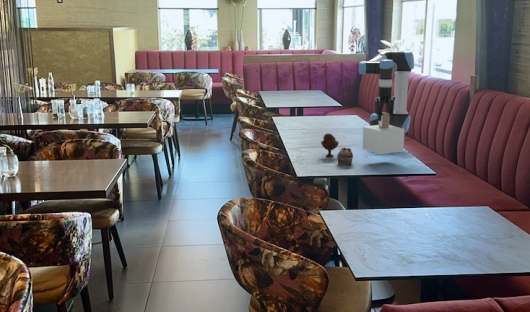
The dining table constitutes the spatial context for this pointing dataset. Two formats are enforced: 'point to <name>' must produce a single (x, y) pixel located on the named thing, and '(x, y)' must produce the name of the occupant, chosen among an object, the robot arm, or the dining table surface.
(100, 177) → the dining table surface
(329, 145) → the ice cream bowl
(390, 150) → the white box with knob
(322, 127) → the dining table surface
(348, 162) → the cupcake
